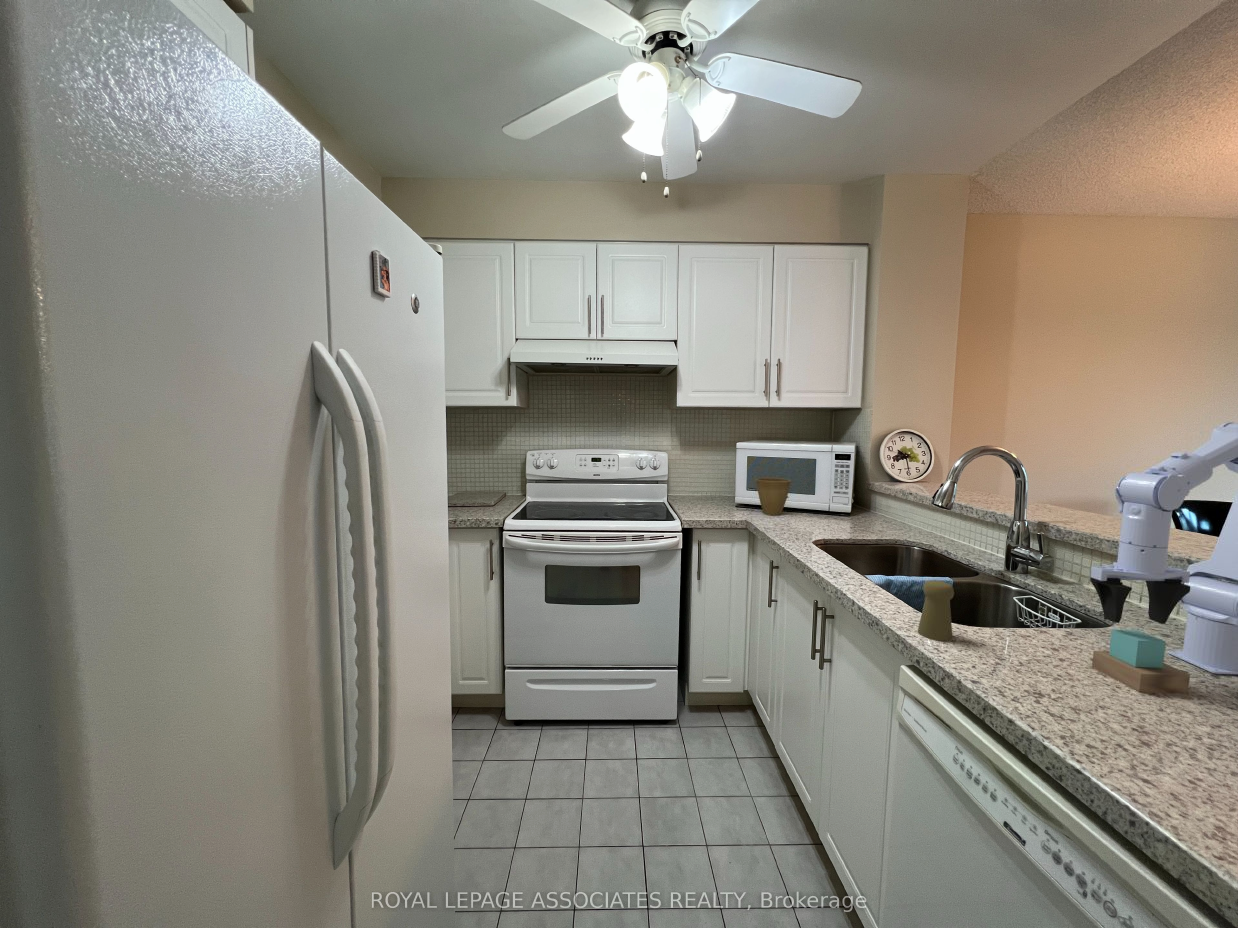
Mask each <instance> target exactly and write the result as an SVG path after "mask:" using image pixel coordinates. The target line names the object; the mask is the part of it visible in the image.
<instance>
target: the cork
mask: <svg viewBox="0 0 1238 928" xmlns="http://www.w3.org/2000/svg"><path fill="white" fill-rule="evenodd" d="M922 589H923V593H924V594H923V595H924V596H925V598H924V603H923V606H922V607H923V608H922V612H921V614H920V615H921V616H920V619H919V623H918V629H917V634H919V635H920V636H921V637H924V638H926V639H928V640H933V641H937V642H951V641H952V640H953V628H952V627H953V626H952V614H951V613H952V612H951V600H952V599H953V598H954V595H955V591H954V587H953V586H952V584H950V583H948V582H945V581H943V580H934V579H933V580H931V579H930V580H927V581H926V582H924V583H923V588H922Z"/></svg>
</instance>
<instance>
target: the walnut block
mask: <svg viewBox="0 0 1238 928" xmlns="http://www.w3.org/2000/svg"><path fill="white" fill-rule="evenodd" d="M1091 663H1092V665H1091V668H1092V669H1093V670H1095V671H1098V672H1099V673H1101V674H1103V675H1104V676H1107V677H1108V678H1110V679H1113V680H1114V679H1115V681H1116V680H1117V681H1116V682H1118V681H1119V683H1120V684H1122V685H1124V686H1126V687H1128V688H1130V689H1132V690H1133V689H1134V690H1133V691H1135V690H1136V692H1138V693H1159V694H1161V693H1164V694H1165V693H1167V694H1170V693H1171V694H1177V693H1178V694H1188V693H1189V686H1190V678H1191V674H1190V673H1187V672H1185V671H1184V670H1181V669H1179V668H1177V667H1174V666H1172V665H1169V664H1168V663H1165V662H1163V668H1151V667H1134V666H1132V665H1130V664H1128V663H1126V662H1124V661H1122V660H1120V659H1118V658H1116V657H1113V656H1111V655H1109V650H1093V655H1092V662H1091Z"/></svg>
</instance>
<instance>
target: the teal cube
mask: <svg viewBox="0 0 1238 928" xmlns="http://www.w3.org/2000/svg"><path fill="white" fill-rule="evenodd" d="M1110 634H1111V636H1110V641H1109V642H1110V644H1109V650H1108V651H1109V655H1111V656H1113V657H1116V658H1118V659H1120V660H1122V661H1124V662H1126V663H1128V664H1130V665H1132V666H1134V667H1151V668H1163V663H1165V662H1164V661H1165V652H1166V645H1167V641H1165V640H1163V639H1160V638H1158V637H1156V636H1153V635H1151V634H1149V633H1146V632H1144V631H1141V630H1138V629H1114V628H1113V629H1111V633H1110Z"/></svg>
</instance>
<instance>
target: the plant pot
mask: <svg viewBox="0 0 1238 928" xmlns="http://www.w3.org/2000/svg"><path fill="white" fill-rule="evenodd" d="M791 482H792V481H791V479H788V478H777V477H761V478H760V477H759V478H756V487H757V494H758V497H759V498H758V499H759V501H760V506H761V509H762V513H763V514H764V515H765V516H766V515H767V516H780V515H782V512H783V510H784V508H785V505H786V502H787V498H788V495H789V491H790V486H791Z"/></svg>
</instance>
